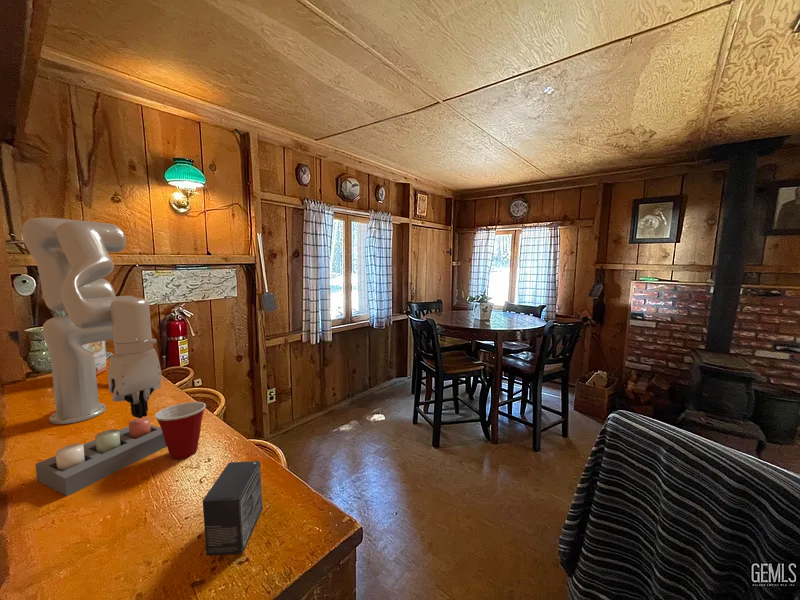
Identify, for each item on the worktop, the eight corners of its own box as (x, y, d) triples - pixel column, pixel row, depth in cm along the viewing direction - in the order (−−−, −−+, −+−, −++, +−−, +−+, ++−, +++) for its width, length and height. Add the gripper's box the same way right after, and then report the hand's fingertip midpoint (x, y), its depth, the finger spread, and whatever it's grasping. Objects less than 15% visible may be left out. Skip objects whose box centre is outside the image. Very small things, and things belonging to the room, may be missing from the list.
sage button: (92, 455, 79) (90, 436, 78) (114, 445, 83) (112, 427, 82) (103, 459, 77) (101, 440, 77) (125, 449, 81) (123, 431, 81)
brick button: (126, 440, 85) (124, 423, 85) (144, 432, 89) (143, 415, 89) (136, 444, 84) (135, 426, 83) (155, 436, 88) (153, 419, 87)
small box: (230, 509, 66) (227, 460, 64) (263, 508, 66) (262, 459, 65) (203, 557, 55) (199, 499, 54) (243, 554, 56) (241, 497, 55)
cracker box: (85, 382, 129) (80, 329, 127) (67, 383, 128) (61, 330, 125) (108, 370, 143) (104, 323, 140) (92, 371, 141) (87, 323, 139)
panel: (37, 480, 73) (35, 463, 72) (141, 434, 92) (140, 421, 92) (67, 496, 68) (65, 478, 68) (170, 444, 88) (169, 430, 87)
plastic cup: (202, 436, 92) (199, 395, 90) (213, 453, 84) (211, 408, 83) (154, 452, 84) (150, 407, 83) (162, 472, 77) (158, 423, 75)
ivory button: (53, 472, 72) (51, 451, 72) (78, 461, 76) (76, 441, 76) (64, 477, 71) (61, 456, 70) (89, 466, 75) (87, 446, 74)
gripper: (155, 339, 92) (160, 402, 94) (88, 353, 78) (96, 426, 80) (173, 342, 89) (178, 407, 91) (107, 356, 75) (115, 432, 77)
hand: (140, 416), depth 85 cm, fingers closed
